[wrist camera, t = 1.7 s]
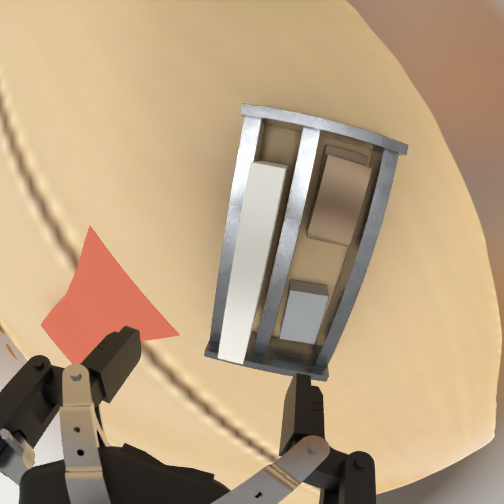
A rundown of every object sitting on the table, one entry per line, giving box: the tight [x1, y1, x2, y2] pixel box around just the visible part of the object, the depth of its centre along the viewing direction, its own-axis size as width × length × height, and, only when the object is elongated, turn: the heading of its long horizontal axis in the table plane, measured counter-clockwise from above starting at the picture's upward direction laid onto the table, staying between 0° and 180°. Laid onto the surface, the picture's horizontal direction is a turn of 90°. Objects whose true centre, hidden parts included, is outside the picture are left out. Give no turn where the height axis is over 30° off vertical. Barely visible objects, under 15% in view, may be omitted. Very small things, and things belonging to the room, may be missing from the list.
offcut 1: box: [279, 280, 329, 344], centre depth 33 cm, size 7×4×3 cm, turn 173°
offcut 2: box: [306, 145, 368, 246], centre depth 28 cm, size 10×4×2 cm, turn 171°
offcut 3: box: [306, 155, 372, 245], centre depth 26 cm, size 8×4×2 cm, turn 168°
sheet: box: [41, 226, 180, 364], centre depth 39 cm, size 5×30×24 cm
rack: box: [204, 104, 408, 382], centre depth 29 cm, size 28×15×6 cm, turn 170°
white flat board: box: [218, 161, 288, 364], centre depth 27 cm, size 18×2×11 cm, turn 170°
